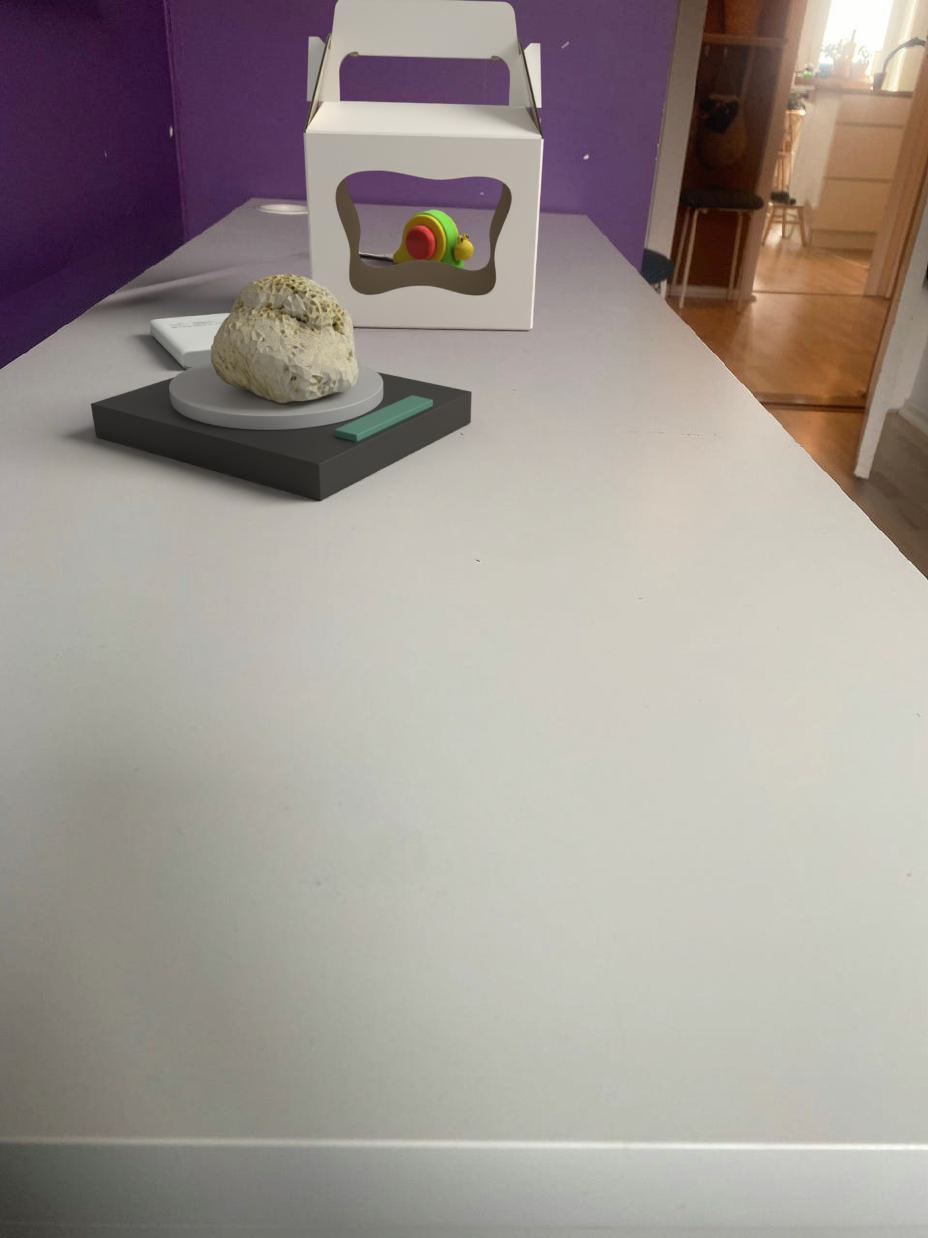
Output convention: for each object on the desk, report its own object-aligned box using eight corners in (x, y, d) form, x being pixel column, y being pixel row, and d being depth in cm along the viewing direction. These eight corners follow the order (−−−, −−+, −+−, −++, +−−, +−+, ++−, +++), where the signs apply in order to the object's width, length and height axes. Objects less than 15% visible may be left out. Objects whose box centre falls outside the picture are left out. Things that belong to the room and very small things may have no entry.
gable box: (524, 301, 111) (540, 5, 97) (534, 331, 100) (554, 0, 86) (322, 297, 110) (309, -2, 96) (310, 326, 99) (293, -8, 85)
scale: (95, 436, 70) (87, 389, 69) (266, 376, 84) (263, 336, 82) (320, 501, 62) (318, 448, 60) (470, 422, 75) (472, 377, 73)
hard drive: (183, 371, 85) (150, 335, 94) (276, 360, 88) (235, 327, 98) (181, 351, 84) (148, 317, 93) (275, 342, 87) (234, 310, 97)
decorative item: (190, 306, 73) (313, 244, 73) (251, 414, 76) (368, 356, 76) (178, 326, 62) (322, 253, 62) (248, 451, 66) (385, 382, 65)
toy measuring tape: (458, 275, 122) (459, 218, 119) (331, 256, 131) (329, 202, 127) (484, 268, 127) (486, 212, 124) (360, 250, 136) (359, 197, 132)
